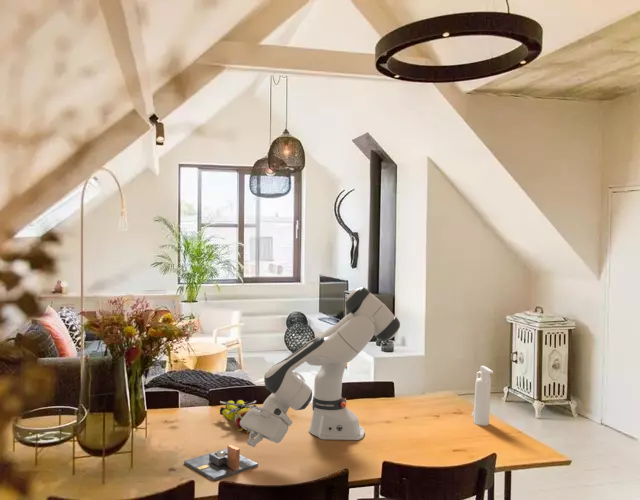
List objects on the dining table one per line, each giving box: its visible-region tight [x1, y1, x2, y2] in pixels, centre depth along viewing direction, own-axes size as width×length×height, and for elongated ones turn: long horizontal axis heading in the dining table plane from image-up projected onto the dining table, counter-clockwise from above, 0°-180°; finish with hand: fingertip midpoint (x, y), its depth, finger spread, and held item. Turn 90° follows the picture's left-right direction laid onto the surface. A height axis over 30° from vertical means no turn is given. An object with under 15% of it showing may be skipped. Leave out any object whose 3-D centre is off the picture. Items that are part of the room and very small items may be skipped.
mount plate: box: [183, 448, 259, 482], centre depth 202 cm, size 18×18×4 cm
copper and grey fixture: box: [208, 444, 241, 471], centre depth 200 cm, size 12×6×7 cm, turn 44°
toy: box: [219, 398, 257, 435], centre depth 245 cm, size 16×9×30 cm
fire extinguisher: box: [471, 365, 494, 427], centre depth 255 cm, size 7×12×25 cm, turn 16°
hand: (250, 445), depth 204 cm, fingers closed
